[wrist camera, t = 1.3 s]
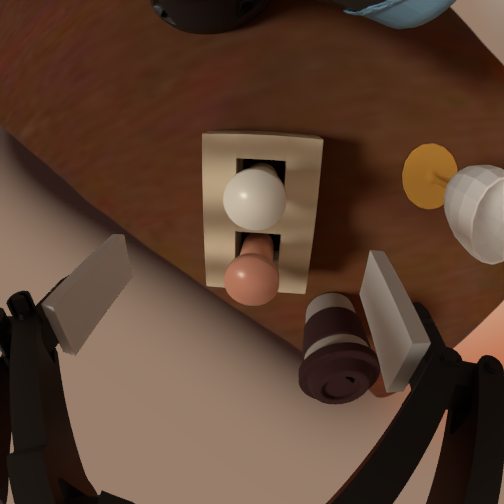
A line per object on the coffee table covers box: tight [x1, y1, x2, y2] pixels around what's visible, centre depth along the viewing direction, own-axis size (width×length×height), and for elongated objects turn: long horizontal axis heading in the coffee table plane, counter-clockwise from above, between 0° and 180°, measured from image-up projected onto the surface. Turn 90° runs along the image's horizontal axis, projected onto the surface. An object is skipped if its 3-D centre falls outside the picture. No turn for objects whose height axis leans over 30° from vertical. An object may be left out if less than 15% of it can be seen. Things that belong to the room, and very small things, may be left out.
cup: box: [402, 143, 504, 265], centre depth 25 cm, size 9×9×16 cm
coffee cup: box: [299, 293, 380, 404], centre depth 37 cm, size 10×10×15 cm
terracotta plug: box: [224, 232, 279, 306], centre depth 31 cm, size 5×5×8 cm
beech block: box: [202, 130, 323, 294], centre depth 34 cm, size 18×12×6 cm, turn 178°
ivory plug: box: [223, 163, 286, 230], centre depth 28 cm, size 5×5×8 cm
